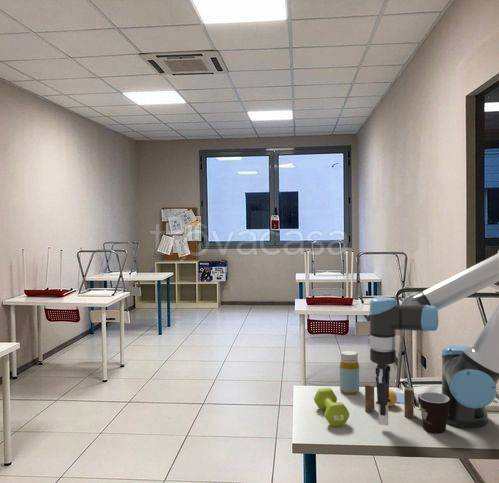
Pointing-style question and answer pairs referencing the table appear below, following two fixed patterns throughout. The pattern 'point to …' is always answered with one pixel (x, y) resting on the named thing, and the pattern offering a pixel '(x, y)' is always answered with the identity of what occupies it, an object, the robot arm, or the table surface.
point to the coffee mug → (434, 411)
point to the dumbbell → (331, 407)
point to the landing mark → (400, 397)
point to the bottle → (349, 372)
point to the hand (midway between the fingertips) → (383, 423)
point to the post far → (369, 397)
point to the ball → (392, 398)
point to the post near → (409, 401)
